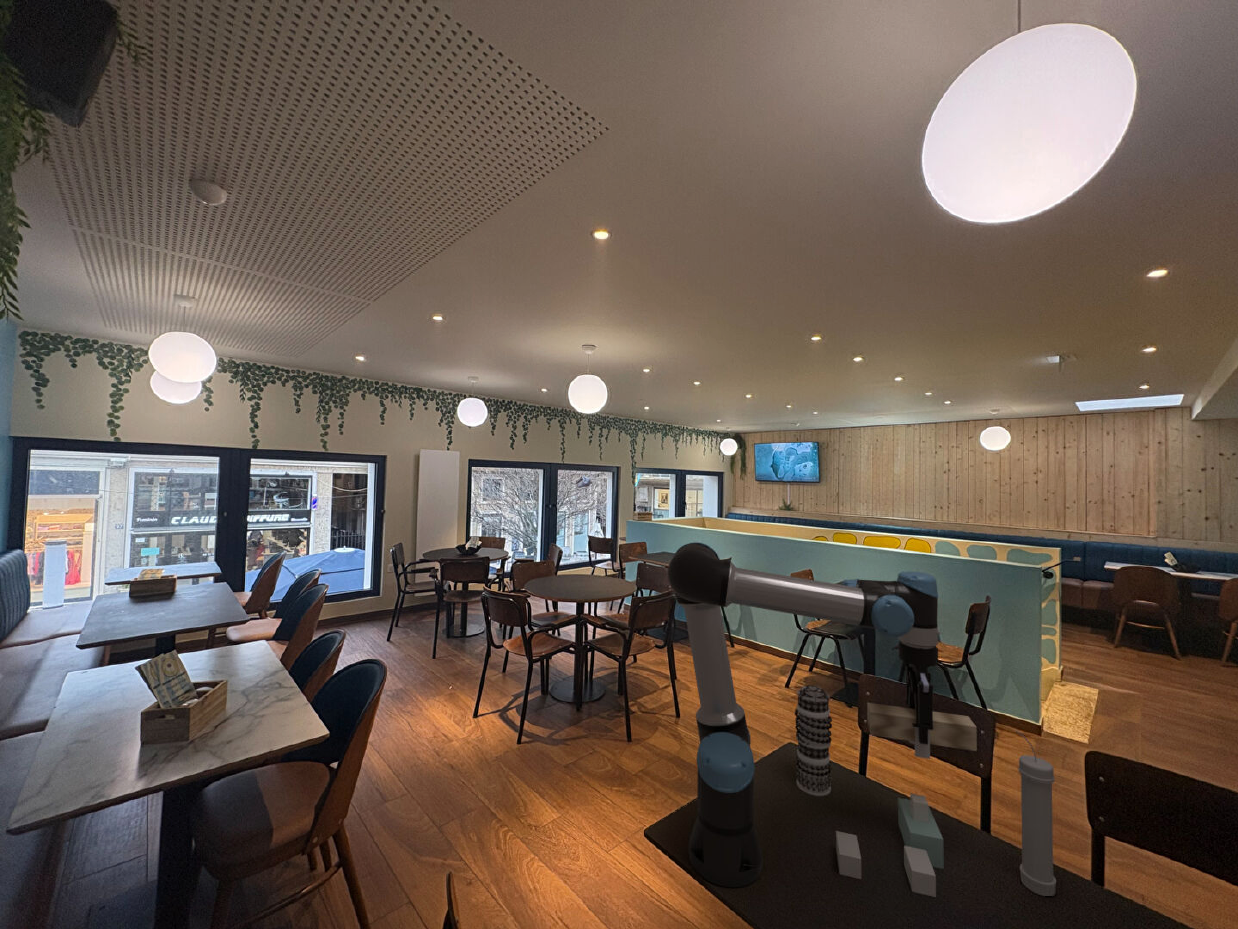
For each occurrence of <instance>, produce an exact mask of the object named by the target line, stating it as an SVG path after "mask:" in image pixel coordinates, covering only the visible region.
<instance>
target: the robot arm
mask: <svg viewBox="0 0 1238 929" xmlns="http://www.w3.org/2000/svg"><path fill="white" fill-rule="evenodd" d="M667 580H668V584H669V585H670V588H671V590H673V592H674V593H675V596H676V603H677V604H678V605H679V606H680V607H682V608H683V609H684V613H685V614H684V615H685V620H686V626H687V632H688V638H689V639H688V640H689V644H690V650H691V656H692V663H693V669H694V674H695V682H696V686H697V692H698V698H699V699H698V700H699V703H700V704H699V705H700V707H699V708H698V709H697V711H696V713H695V720H696V724H697V731H698V739H699V744H698V747H697V754H696V766H697V778H696V779H697V785H696V786H697V794H696V795H697V800H696V801H697V804H696V805H697V807H696V808H697V811H696V812H697V815H696V820H695V822H694V824H693V828H692V830H691V834H690V836H689V837H690V838H689V842H688V858H689V861H690V864H691V865H692V868H693V869H694V870H695V872H696V873H697V874H698V875H700V876H701V877H702V878H703V879H705V880H706V881H708V882H710V883H712V884H714V885H717V886H720V887H726V888H742V887H746V886H748V885H750V884H753V883H754V882H755V881H757V879H758V878H759V877H760V875H761V873H762V872H763V871H762V870H763V851H762V848H761V845H760V842H759V838H758V835H757V832H756V828H755V824H754V815H755V814H754V810H755V809H754V806H755V805H754V803H755V802H754V796H755V795H754V794H755V793H754V783H755V782H754V781H755V779H754V774H755V766H756V765H755V758H754V753H753V751H752V748H751V743H752V742H751V734H750V730H749V728H748V723H747V717H746V713H745V709H744V708H743V706H741V705H740V704H738V703H737V698H736V692H735V687H734V682H733V681H734V680H733V674H732V669H731V663H730V658H729V651H728V645H727V640H726V635H725V634H726V633H725V628H724V622H723V614H722V610H721V607H723V608H727V607H728V606H730V605H732V604H735V605H739V606H745V607H753V608H757V609H763V610H768V611H773V612H775V611H776V612H779V613H786V614H791V615H797V616H803V617H806V618H807V617H808V618H813V619H819V620H825V621H831V622H837V623H841V624H842V623H843V624H847V625H853V626H858V627H863V628H868V629H875V630H877V632H879V633H881V634H883V635H885V636H888V637H891V638H892V637H893V638H897V637H898V638H897V639H898V640H899V642H898V658H899V659H900V660H901V661H902V662H903V663H904V666H905V704H906V706H907V708H911V709H915V714H916V724H915V723H912V725H913V727H915V742H913V741H908V743H909V744H912V745H914V756H915V758H921V759H926V760H927V759H929V760H931V744H930V730H933V712H934V711H933V692H934V684H933V682H931V681H932V675H931V673H930V672H929V668H930V667H935V666H937V665H938V664H939V648H938V647H937V645H938V638H939V637H938V636H939V635H941V634H942V633H941V630H939V629H938V627H939V626H938V624H939V623H938V603H939V602H938V601H939V600H938V598H939V592H938V583H937V579H936V577H935V576H933V575H931V574H930V573H926V572H921V571H920V572H918V571H901V572H899V573H898V575H897V578H896V580H890V581H889V580H875V579H872V580H871V579H860V578H855V579H844V580H842V581H841V583H840V584H838V583H831V582H825V581H821V580H820V581H819V580H812V579H807V578H801V577H795V576H789V575H781V574H778V573H771V572H764V571H760V570H753V569H746V568H740V567H737V566H735V564H734V563H733V562H732V561H727V560H723V559H722V560H721V559H720V556H719V555H718V553H717V552H716V550H714V549H713V548H712V547H711V546H710V545H708V544H706V543H703V542H697V541H696V542H689V543H685V544H684V545H682V546H680V547H679V548H678V549H677V550H676V551H675V553H674V555H673V557H672V558H671V560H669V564H668V568H667Z"/></svg>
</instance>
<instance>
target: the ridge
mask: <svg viewBox="0 0 1238 929" xmlns="http://www.w3.org/2000/svg"><path fill="white" fill-rule="evenodd" d="M909 795H910V796H909V797H910V799H905V798H900V797H898V798H897V812H898V813H897V815H898V816H897V818H898V819H897V821H898V823H897V824H898V827H899V831H900V833H901V836H902V840H903V843H904V846H908V847H913V848H918V849H922V850H926V852H927V854H928V857H929V860H930V862H931V865H932V867H933V868H936V869H942V870H944V869H945V868H944V857H945V856H944V854H945V853H944V838H943V835H942V833H941V831H940V828H939V827H938V826H939V825H938V824H937V822H936V819H935V816H933V813H932V811H931V808H930V806H929V802H928V801H927V798H926V796H925V795H920V794H915V793H909Z"/></svg>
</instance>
